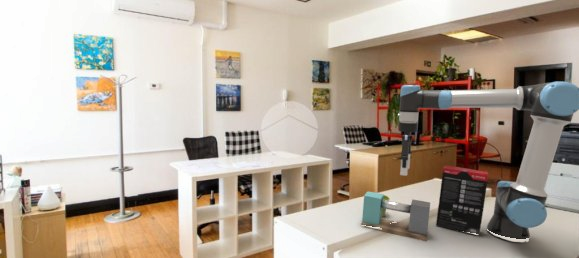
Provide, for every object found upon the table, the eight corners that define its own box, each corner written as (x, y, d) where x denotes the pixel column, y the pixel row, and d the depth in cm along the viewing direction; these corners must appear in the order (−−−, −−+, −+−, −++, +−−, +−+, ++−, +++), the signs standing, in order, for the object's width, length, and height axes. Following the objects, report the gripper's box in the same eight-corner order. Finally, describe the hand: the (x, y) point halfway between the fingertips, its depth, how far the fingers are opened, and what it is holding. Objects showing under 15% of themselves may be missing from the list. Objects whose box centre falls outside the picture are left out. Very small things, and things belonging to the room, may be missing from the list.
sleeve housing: (427, 229, 134) (430, 202, 132) (426, 236, 127) (429, 207, 126) (409, 225, 137) (412, 199, 135) (408, 232, 130) (411, 204, 129)
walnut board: (427, 231, 135) (427, 228, 135) (426, 241, 126) (426, 237, 126) (365, 218, 146) (366, 215, 146) (361, 226, 137) (361, 223, 137)
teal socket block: (381, 219, 142) (383, 194, 140) (378, 225, 135) (380, 198, 134) (365, 216, 145) (367, 191, 143) (362, 221, 138) (364, 195, 137)
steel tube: (414, 212, 134) (415, 204, 133) (414, 215, 131) (414, 207, 130) (373, 204, 141) (374, 197, 140) (372, 207, 138) (372, 199, 137)
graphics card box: (480, 231, 138) (488, 170, 135) (480, 237, 132) (488, 173, 129) (437, 221, 147) (443, 163, 143) (435, 227, 141) (442, 166, 137)
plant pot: (365, 215, 150) (367, 197, 149) (370, 209, 158) (371, 192, 157) (385, 220, 145) (387, 201, 144) (389, 213, 154) (391, 196, 153)
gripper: (401, 119, 146) (398, 164, 149) (395, 124, 124) (392, 177, 126) (418, 120, 143) (415, 166, 146) (416, 125, 121) (412, 179, 123)
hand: (405, 171), depth 136 cm, fingers open, 13 cm apart
